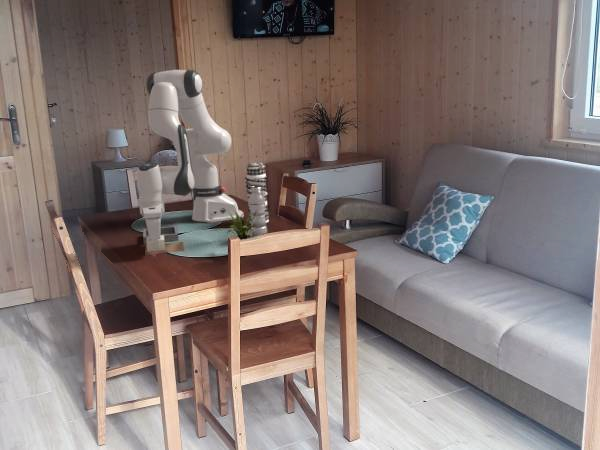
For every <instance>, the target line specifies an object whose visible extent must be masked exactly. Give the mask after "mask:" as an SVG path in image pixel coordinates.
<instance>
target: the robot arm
mask: <svg viewBox="0 0 600 450" xmlns="http://www.w3.org/2000/svg"><path fill="white" fill-rule="evenodd" d="M145 83H146V85H145V86H146V90H147V93H148V95H149V100H148V106H147V107H148V110H147V121H148V122H147V123H148V126H149V127H150V129H151V130H152V132H154V133H155V134H156V135H159V136H161V137H163V138H165V139H167V140H170V141H172V143H173V146H174V147H173V148H174V149H175V151H176V158H177V167H176V168H165V167H163V168H161V167H160V166H159V164H158V163H157V162H154V161H153V162H152V161H149V162H145V163H144V162H143V163H140V165H138V167H137V171H136V185H137V192H138V195H139V197H138V204H139V213H140V215H141V216H142V218H143V219H144V220H145V224H146V229H148V234H149V237H150V239H152V241H153V247H154V248H158V247H159V246H158V239H159V238H160V227H162V225H161V223H162V221H161V219H162V216H163V214H164V213H165V212H166V210H165V209H166V208H165V207H166V206H165V199H164V198H165V197H164V195H172V196H173V195H174V196H184V197H186V196H188V195H189V194H190V193H192V199H193V211H192V216H191V220H192V221H194V222H203V223H209V224H210V223H217V222H225V221H228V220H229V221H231V220H232V221H233V219H232V217H231V216H230V215H229V214H228V213H230V214H231V215H232V216H233V218H234V220H237V218H236V213H235V211H236V212H237V214H238V215H239V216H240V217H241V216H242V218H243V217H244V215H245V213H244V212H243V211H242V210H240V209H239V207H238V203H237V201H235V199H233V198H232V197H230V196H229V195H227V194H226V193H225V192H226V187H224V186H222V185H220V184H219V173H218V168H217V166H216V165H215V164H213V163H212V162H210V161H209V160H208V159H207V158H206V155H215V156H216V155H220V154H226V153H228V152H229V150H230V149H231V146H232V137H231V135H230V133H229V132H228V131H227V130H226V129H224V128H222V127H221V126H219V125H218V124H217V123H216V122H215V120H214V119H212V117H211V116H210V114H209V111H208V108H207V106H206V102H205V100H204V96H203V94H202V92H203V88H204V87H203V79H202V75H201V74H200V73H199V72H198V71H196V70H194V69H172V70H164V71H155V72H152V73H150V74H149V75H148V76H147V78H146V82H145ZM179 116H180V118H179ZM180 119H181V121H182V123H183V124H184V125H185V126H187V127H189V128H186V127H185V126H184V125H182V124H181V122H180ZM227 212H228V213H227ZM242 212H243V213H242ZM242 214H243V215H242ZM227 217H228V218H227ZM229 218H230V219H231V220H230V219H229ZM226 219H227V220H226Z"/></svg>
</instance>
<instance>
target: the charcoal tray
mask: <svg viewBox="0 0 600 450" xmlns="http://www.w3.org/2000/svg"><path fill="white" fill-rule="evenodd" d="M142 232H143V233H142V238H143V245H147V242H146V237H149V234H148V229H147V228H143V230H142ZM161 235H164V241H165V243H170V242H177V241H178V242H180V241H179V239H180V238H179V232H178V226H177V225H171V226H160V236H161Z"/></svg>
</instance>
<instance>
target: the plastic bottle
mask: <svg viewBox="0 0 600 450" xmlns="http://www.w3.org/2000/svg"><path fill="white" fill-rule="evenodd" d="M251 192H252V194H251V196H250V197H249V196H248V200H247V202H248V203H247V204H248V206H249V208H250V212H249V213H250V214H251V219H252V218H253V217H254V216H255V215H257V214H258V215H257V216H255V217H254V219H253V220H252V221H251V223H250V226H254V227H252V228H250V230H249V233H250V235H252V238H253V237H254V236H258V235H262V234H266V233H267V234H268V227H267V223H266V222H265V198H264V197H263V195H262V194H261V187H260V186H254V187H251ZM249 208H248V209H249ZM254 228H256V229H254ZM252 229H254V230H252ZM251 230H252V231H251ZM250 231H251V232H250Z"/></svg>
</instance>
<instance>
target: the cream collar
mask: <svg viewBox="0 0 600 450" xmlns="http://www.w3.org/2000/svg"><path fill="white" fill-rule="evenodd" d="M146 242H147V244H146V245H147V252H153V251H163V250H165V243H166V242H165V241H164V235H161V236H160V238H159V239H158V246H159V247H158V248H154V247H153V241H152V239H150V237H146Z"/></svg>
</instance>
